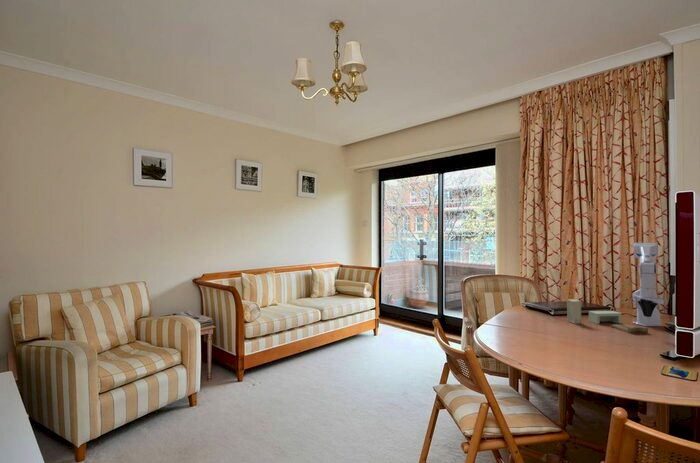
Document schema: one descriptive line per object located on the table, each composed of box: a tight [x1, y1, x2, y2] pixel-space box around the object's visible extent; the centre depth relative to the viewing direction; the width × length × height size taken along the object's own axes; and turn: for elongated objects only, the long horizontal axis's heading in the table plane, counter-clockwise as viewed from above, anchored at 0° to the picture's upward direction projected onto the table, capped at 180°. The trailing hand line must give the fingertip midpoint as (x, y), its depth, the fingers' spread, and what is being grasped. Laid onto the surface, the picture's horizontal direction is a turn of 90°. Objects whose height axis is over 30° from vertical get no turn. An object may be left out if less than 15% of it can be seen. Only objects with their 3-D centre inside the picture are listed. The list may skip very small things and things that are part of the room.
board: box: [610, 323, 649, 335], centre depth 180 cm, size 9×12×3 cm
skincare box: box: [566, 298, 582, 325], centre depth 195 cm, size 6×4×12 cm
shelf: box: [588, 310, 622, 325], centre depth 196 cm, size 14×6×6 cm, turn 94°
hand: (647, 316), depth 170 cm, fingers closed
